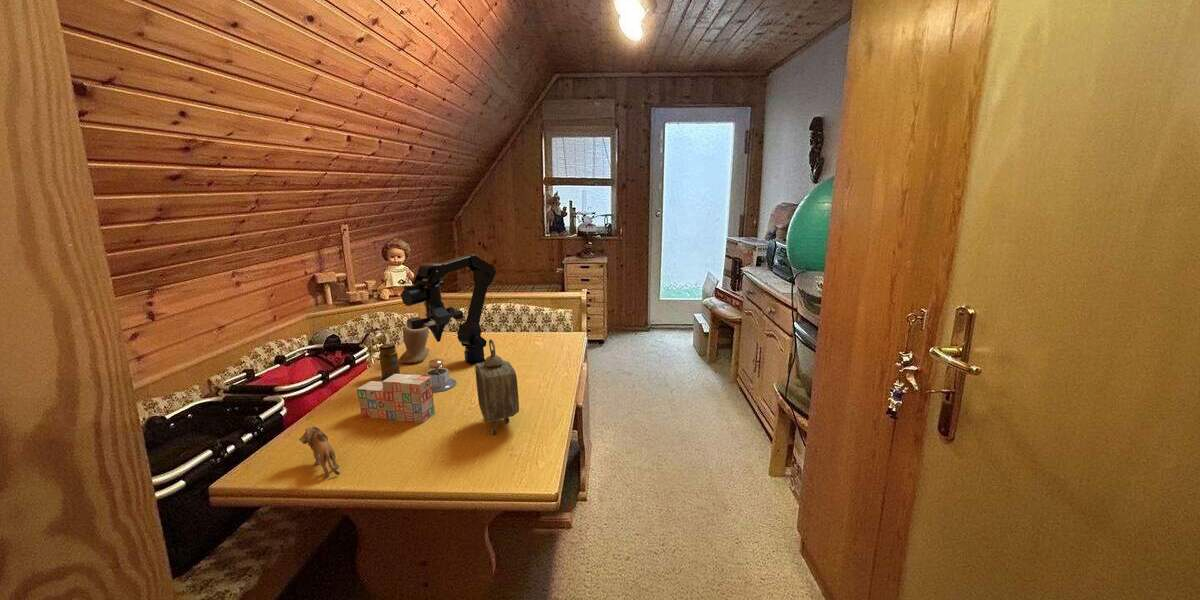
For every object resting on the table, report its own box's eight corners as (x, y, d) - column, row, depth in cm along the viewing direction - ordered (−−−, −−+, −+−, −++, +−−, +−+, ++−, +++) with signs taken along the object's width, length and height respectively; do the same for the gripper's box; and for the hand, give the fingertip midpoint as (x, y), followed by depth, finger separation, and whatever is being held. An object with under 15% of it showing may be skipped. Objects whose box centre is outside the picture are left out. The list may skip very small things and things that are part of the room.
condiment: (398, 371, 179) (394, 341, 176) (405, 377, 173) (401, 346, 170) (377, 376, 175) (373, 345, 172) (384, 383, 168) (379, 351, 165)
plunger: (442, 379, 167) (440, 357, 166) (447, 383, 164) (445, 361, 162) (428, 383, 164) (426, 361, 163) (433, 387, 161) (431, 364, 159)
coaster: (448, 376, 173) (448, 375, 172) (462, 385, 163) (461, 384, 163) (415, 385, 165) (415, 384, 165) (427, 395, 156) (427, 394, 156)
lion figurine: (301, 462, 119) (295, 429, 117) (323, 452, 123) (318, 420, 121) (328, 481, 110) (322, 446, 108) (351, 470, 115) (346, 436, 113)
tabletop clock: (479, 416, 140) (471, 335, 135) (510, 410, 144) (503, 331, 138) (488, 439, 127) (480, 350, 122) (521, 431, 131) (515, 344, 125)
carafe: (444, 378, 169) (443, 366, 168) (453, 384, 164) (451, 372, 163) (415, 386, 163) (414, 373, 162) (423, 393, 157) (421, 380, 156)
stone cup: (427, 364, 186) (422, 327, 182) (395, 366, 185) (390, 328, 182) (437, 351, 200) (433, 317, 197) (408, 353, 200) (404, 318, 196)
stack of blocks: (360, 417, 143) (354, 379, 140) (375, 408, 148) (369, 371, 146) (423, 423, 137) (418, 383, 135) (435, 414, 143) (431, 375, 141)
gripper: (414, 308, 156) (421, 353, 160) (467, 298, 168) (472, 340, 172) (403, 303, 164) (409, 346, 168) (454, 293, 176) (459, 333, 180)
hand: (438, 341), depth 172 cm, fingers closed
